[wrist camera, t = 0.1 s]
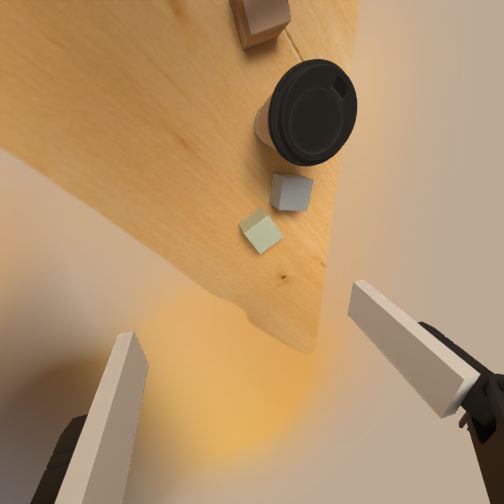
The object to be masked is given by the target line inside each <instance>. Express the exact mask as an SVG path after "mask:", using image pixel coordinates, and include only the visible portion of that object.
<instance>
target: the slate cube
mask: <svg viewBox="0 0 504 504" xmlns="http://www.w3.org/2000/svg"><path fill="white" fill-rule="evenodd" d="M312 184H313V179H310V178H307V177H304V176H301V175H290V174H277V173H273V178H272V186H271V194H270V202H269V203H271V204H272V205H273V206H274V207H276V208H277V209H278V210H294V211H307V208H308V203H309V198H310V193H311V189H312Z"/></svg>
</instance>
